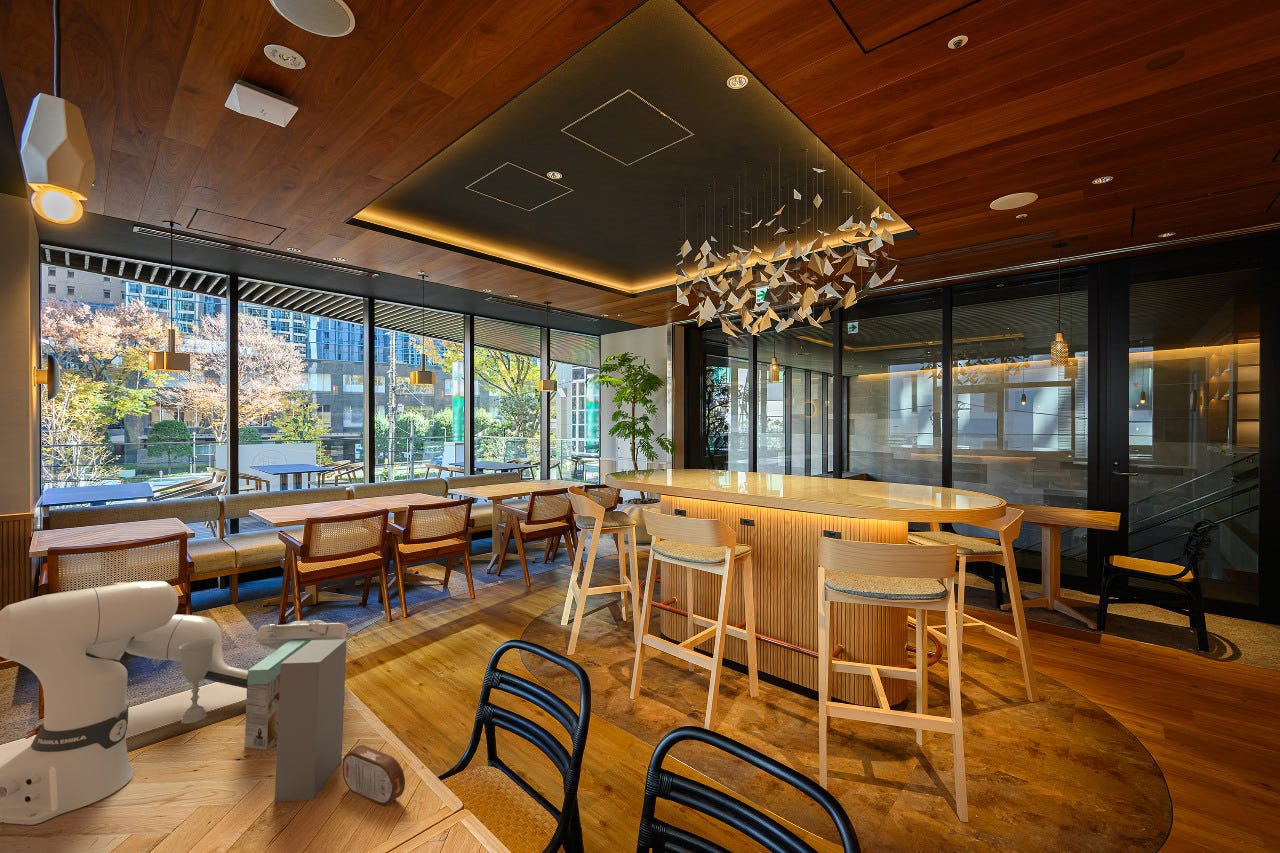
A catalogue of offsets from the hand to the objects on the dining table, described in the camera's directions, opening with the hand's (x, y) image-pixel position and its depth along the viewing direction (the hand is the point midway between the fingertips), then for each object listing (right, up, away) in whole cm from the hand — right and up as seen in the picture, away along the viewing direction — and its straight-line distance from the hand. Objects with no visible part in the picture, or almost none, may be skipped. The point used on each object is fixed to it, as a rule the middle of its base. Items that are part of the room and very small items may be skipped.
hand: (290, 627), depth 127 cm
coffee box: (0, -23, -6) cm, 24 cm away
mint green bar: (+1, -7, -5) cm, 9 cm away
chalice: (-25, -23, +1) cm, 34 cm away
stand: (+18, -23, -21) cm, 36 cm away
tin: (+33, -23, -26) cm, 48 cm away
